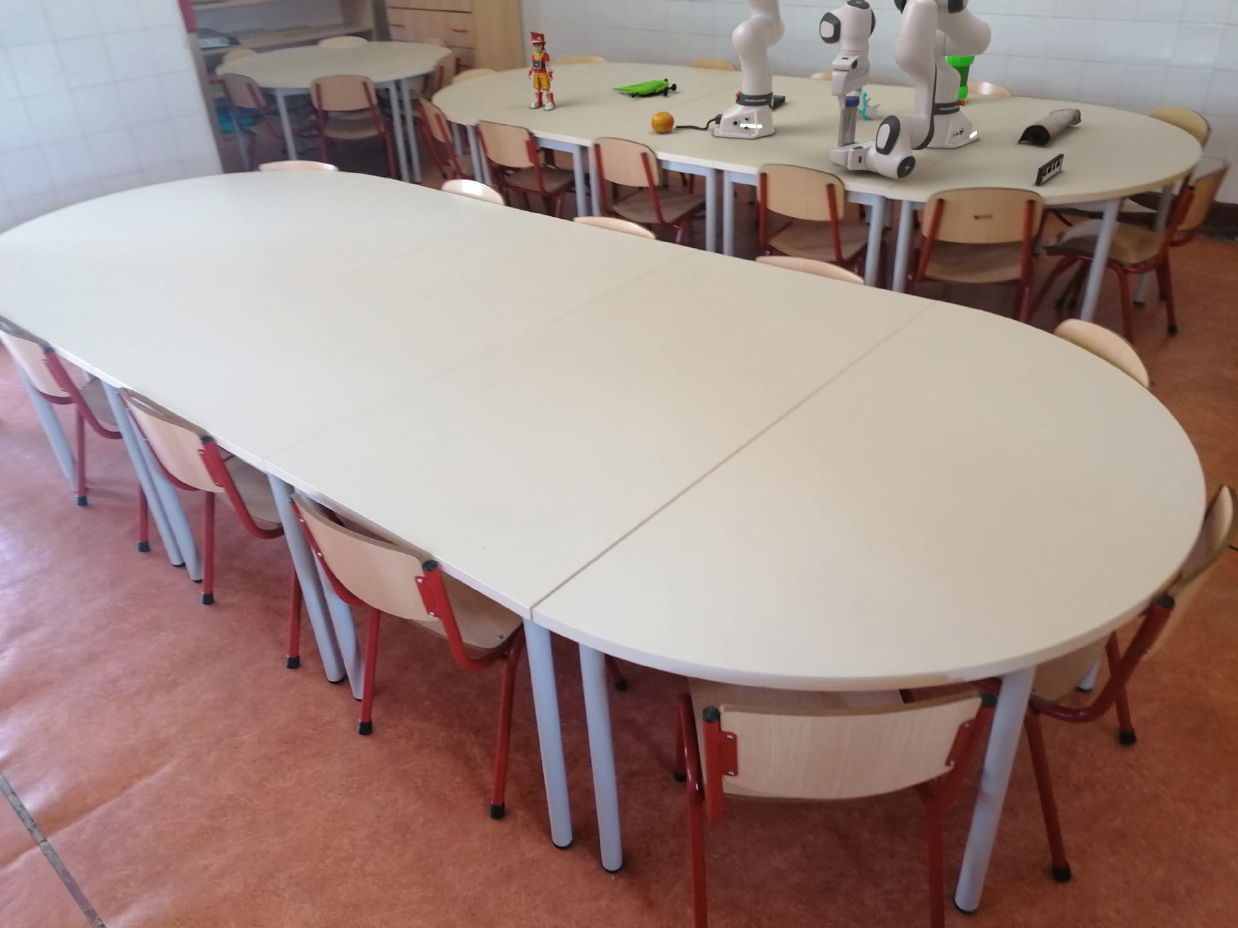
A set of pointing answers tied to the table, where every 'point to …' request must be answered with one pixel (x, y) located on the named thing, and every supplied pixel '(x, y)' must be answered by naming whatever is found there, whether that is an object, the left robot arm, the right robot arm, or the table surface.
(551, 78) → the toy
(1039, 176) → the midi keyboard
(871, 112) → the anatomical model
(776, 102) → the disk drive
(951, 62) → the green dumbbell
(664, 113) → the fruit
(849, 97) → the lid
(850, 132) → the jar
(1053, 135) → the rolled mat
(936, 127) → the right robot arm
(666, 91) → the toy
